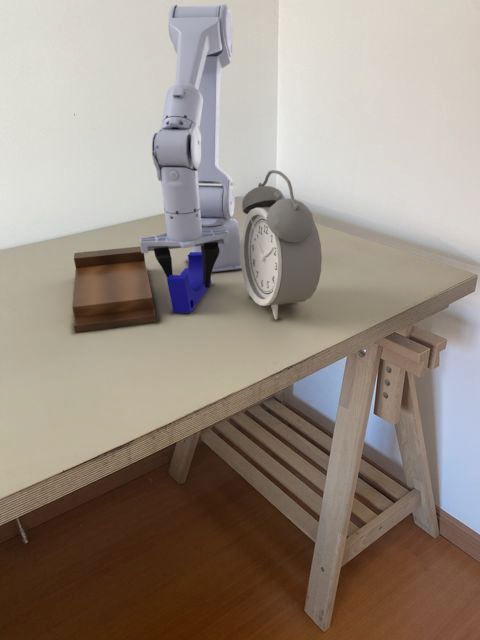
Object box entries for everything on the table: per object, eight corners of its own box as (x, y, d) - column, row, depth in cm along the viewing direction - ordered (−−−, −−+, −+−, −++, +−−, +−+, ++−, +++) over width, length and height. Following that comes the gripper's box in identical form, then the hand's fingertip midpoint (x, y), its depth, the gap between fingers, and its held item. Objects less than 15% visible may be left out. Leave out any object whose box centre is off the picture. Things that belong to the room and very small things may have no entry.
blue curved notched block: (187, 283, 103) (182, 252, 100) (211, 283, 102) (206, 251, 99) (164, 312, 92) (157, 278, 90) (190, 312, 91) (184, 278, 88)
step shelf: (145, 269, 109) (142, 246, 106) (156, 322, 89) (152, 294, 87) (79, 276, 106) (74, 252, 104) (75, 332, 87) (69, 304, 84)
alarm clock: (237, 291, 99) (231, 163, 88) (281, 282, 102) (281, 158, 91) (275, 331, 86) (274, 187, 75) (325, 320, 89) (331, 180, 78)
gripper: (137, 220, 84) (148, 302, 91) (232, 211, 87) (235, 291, 94) (135, 207, 90) (145, 285, 97) (223, 200, 93) (227, 275, 100)
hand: (189, 287), depth 96 cm, fingers closed on blue curved notched block, 5 cm apart
